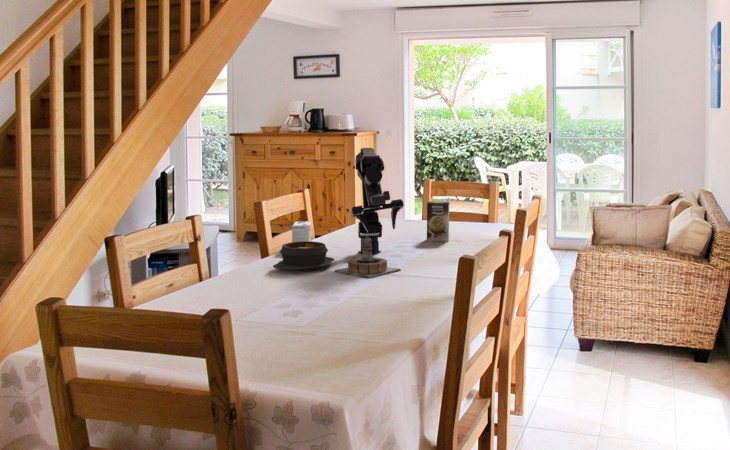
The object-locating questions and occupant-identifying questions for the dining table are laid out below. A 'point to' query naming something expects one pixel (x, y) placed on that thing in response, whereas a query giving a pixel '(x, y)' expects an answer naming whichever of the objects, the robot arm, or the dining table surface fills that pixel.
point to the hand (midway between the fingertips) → (381, 231)
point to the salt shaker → (367, 251)
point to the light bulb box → (301, 231)
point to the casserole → (303, 256)
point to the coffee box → (438, 221)
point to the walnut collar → (367, 268)
